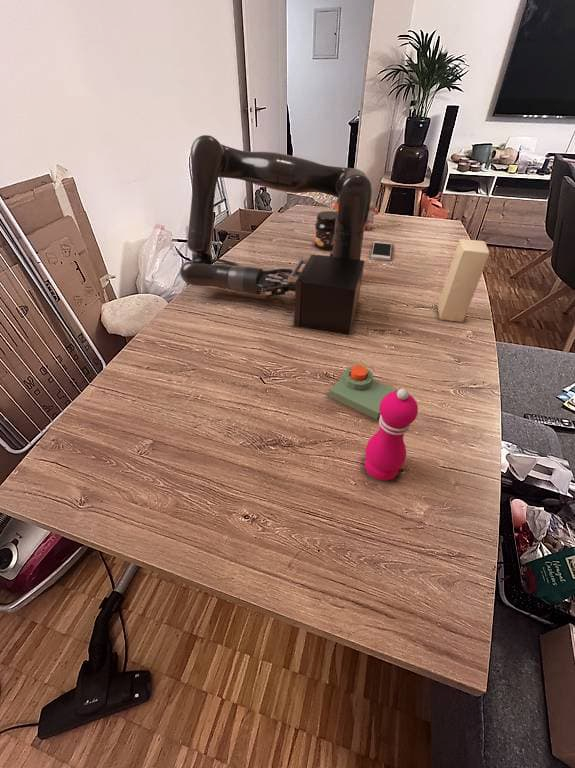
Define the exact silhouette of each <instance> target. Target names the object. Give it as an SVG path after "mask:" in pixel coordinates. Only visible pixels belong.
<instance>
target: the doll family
mask: <svg viewBox="0 0 575 768" xmlns="http://www.w3.org/2000/svg"><path fill="white" fill-rule="evenodd" d="M338 205H339V198H338V197H337V200H336V203H335V204H333V205H332V207H331V211H334V212H338ZM379 214H380V212H379V210H378V208H377V206H375V205H374V202H373V201H371V202H370V208H369V214H368V219H367V222H366V224H365V230H367V231H371V230H372V228H371V227H372V225H373V224H374V221H375V219H374V218H375V217H374V216H377V215H379ZM366 225H367V226H366Z"/></svg>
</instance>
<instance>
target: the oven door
mask: <svg viewBox="0 0 575 768" xmlns="http://www.w3.org/2000/svg"><path fill="white" fill-rule="evenodd" d="M317 255H318V254H311V255H310V256H309V258H304V257H300V258H299V260H298V262H297V263H296V265H295V266H294V268H293V269H292V270H293V271H292V273H291V272H290V275H288V276H289V278H288V282H296V287H295V291H294V314H293V318H294V319H293V326H294V327H298V328H299V327H300V319H301V292H302V281H303V279H304V277H305V276H306V274H307V272H308V270H309V268H310V267H311V265H312V263H313V261H314V259H315V257H316V256H317ZM302 265H304V267H303V268H302V270H301V273H300V275H298V276H296V275H297V274H296V273H297V272H299V270H300V268H301V267H302Z"/></svg>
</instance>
